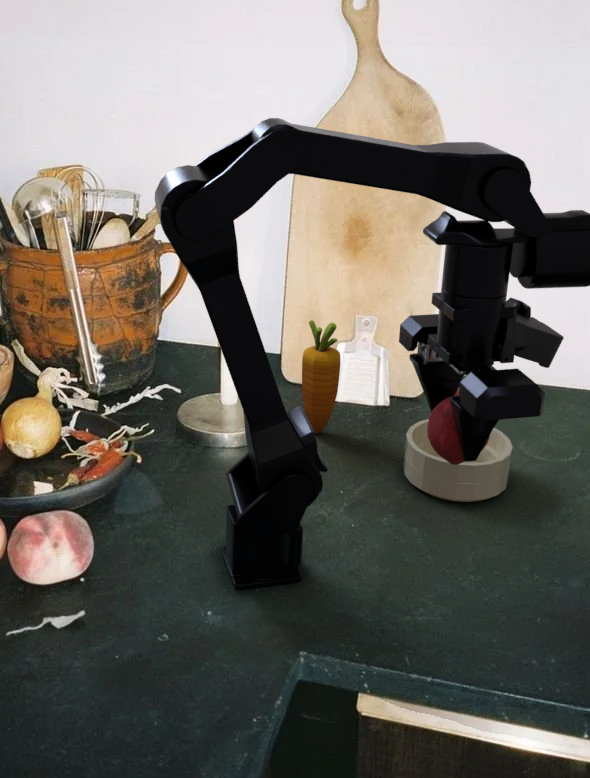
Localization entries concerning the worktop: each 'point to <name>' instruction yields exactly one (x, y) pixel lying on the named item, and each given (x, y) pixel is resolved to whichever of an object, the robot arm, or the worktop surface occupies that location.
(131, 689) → the worktop surface
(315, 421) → the carrot
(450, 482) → the bowl
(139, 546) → the worktop surface
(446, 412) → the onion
